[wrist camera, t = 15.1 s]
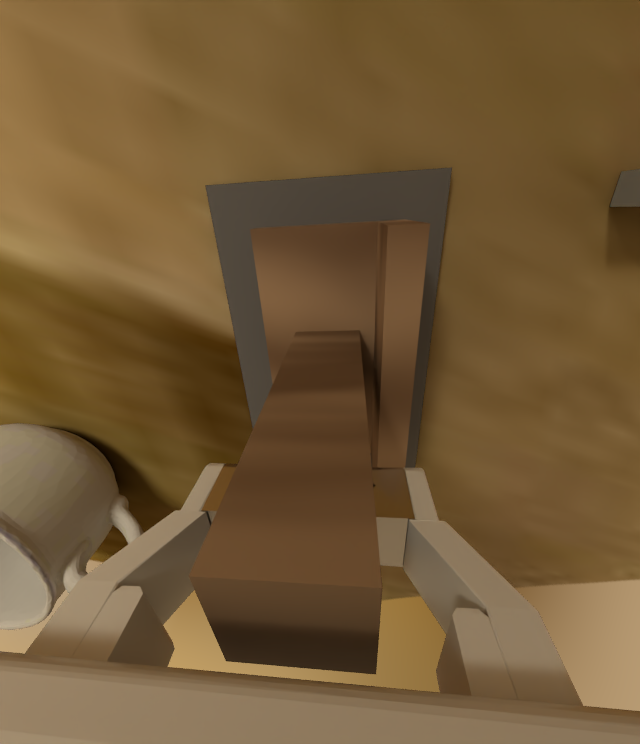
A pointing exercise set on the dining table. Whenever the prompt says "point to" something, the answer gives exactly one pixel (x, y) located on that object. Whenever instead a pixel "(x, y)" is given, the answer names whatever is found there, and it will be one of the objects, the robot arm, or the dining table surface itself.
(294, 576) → the scraper
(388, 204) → the mat
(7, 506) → the teacup
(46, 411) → the dining table surface
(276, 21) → the dining table surface
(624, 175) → the frame
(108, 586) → the robot arm
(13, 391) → the dining table surface
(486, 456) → the dining table surface
